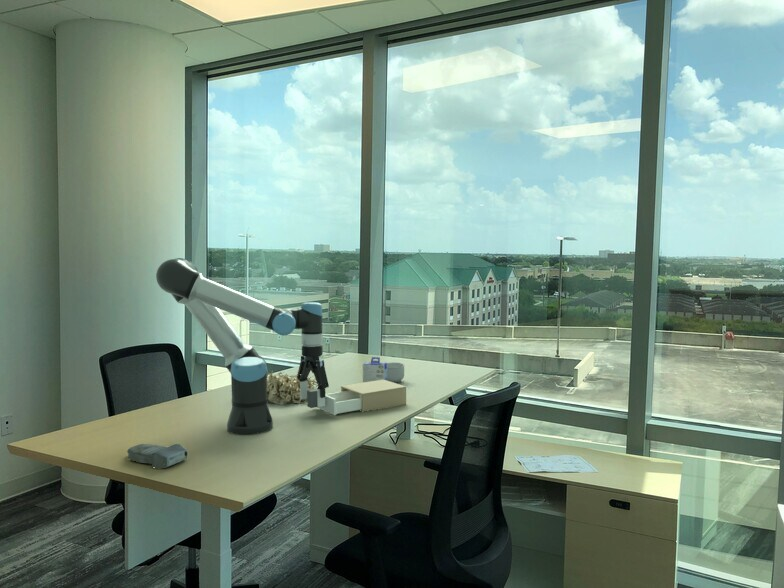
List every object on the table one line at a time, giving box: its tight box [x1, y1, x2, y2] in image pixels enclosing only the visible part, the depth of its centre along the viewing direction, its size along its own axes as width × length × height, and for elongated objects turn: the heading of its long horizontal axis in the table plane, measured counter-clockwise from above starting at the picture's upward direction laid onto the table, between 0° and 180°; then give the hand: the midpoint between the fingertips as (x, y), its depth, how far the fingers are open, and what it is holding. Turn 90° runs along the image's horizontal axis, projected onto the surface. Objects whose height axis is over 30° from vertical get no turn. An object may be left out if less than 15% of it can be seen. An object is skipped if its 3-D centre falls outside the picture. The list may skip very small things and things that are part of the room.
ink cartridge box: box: [362, 356, 388, 383], centre depth 259 cm, size 10×6×14 cm, turn 78°
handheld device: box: [127, 443, 188, 469], centre depth 175 cm, size 10×20×5 cm, turn 64°
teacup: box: [386, 362, 405, 384], centre depth 279 cm, size 14×11×8 cm
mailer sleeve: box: [340, 380, 407, 412], centre depth 238 cm, size 20×16×7 cm
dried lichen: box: [267, 370, 318, 406], centre depth 250 cm, size 27×30×11 cm
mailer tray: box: [306, 388, 362, 416], centre depth 229 cm, size 26×16×8 cm, turn 125°
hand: (312, 402), depth 223 cm, fingers open, 13 cm apart
